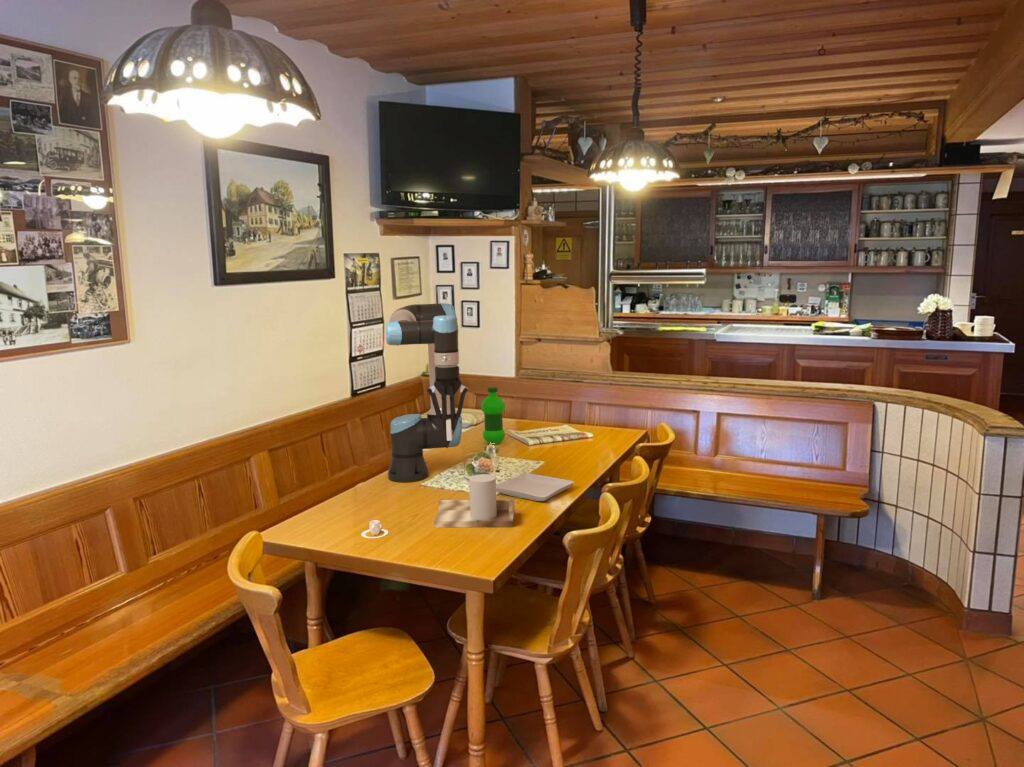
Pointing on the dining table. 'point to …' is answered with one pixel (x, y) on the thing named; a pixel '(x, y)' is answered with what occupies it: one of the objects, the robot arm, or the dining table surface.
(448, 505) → the rail board
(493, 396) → the plastic bottle
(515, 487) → the salad plate
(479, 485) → the beige cylinder
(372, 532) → the white looped ring
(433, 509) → the dining table surface
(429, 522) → the dining table surface
